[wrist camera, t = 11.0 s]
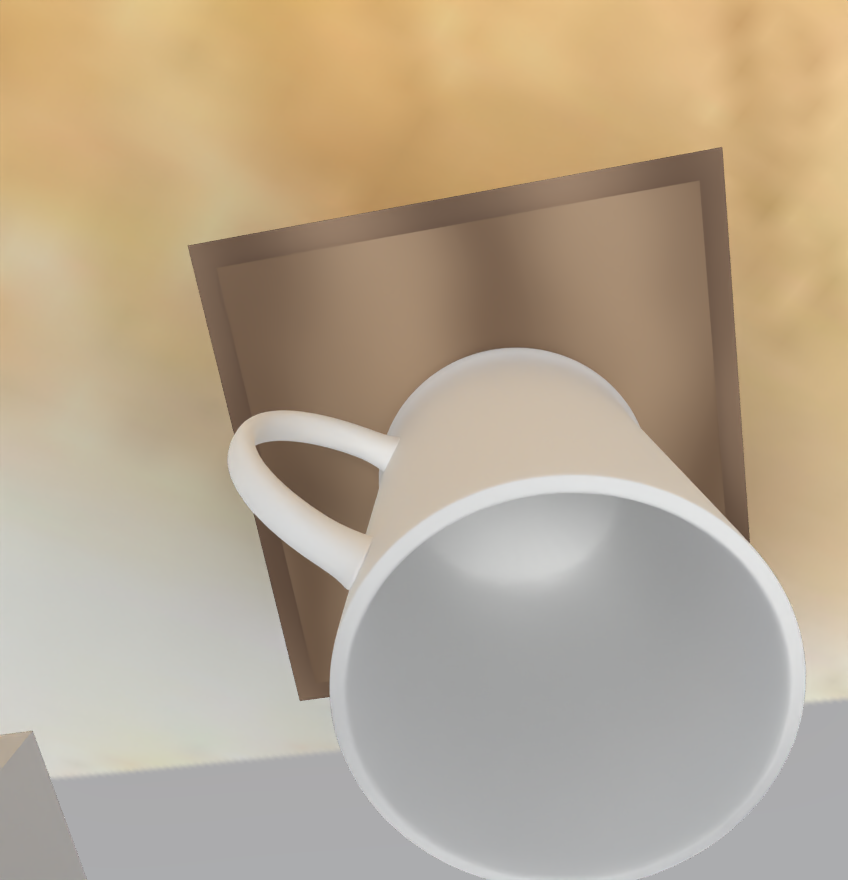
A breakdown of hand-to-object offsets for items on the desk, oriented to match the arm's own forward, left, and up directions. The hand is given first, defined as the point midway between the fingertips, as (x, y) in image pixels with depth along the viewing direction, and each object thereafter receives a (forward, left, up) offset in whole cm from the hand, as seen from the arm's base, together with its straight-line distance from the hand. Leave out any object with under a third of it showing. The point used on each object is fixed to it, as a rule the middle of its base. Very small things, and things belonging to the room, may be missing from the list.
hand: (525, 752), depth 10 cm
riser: (0, 0, -20) cm, 20 cm away
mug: (0, 0, -15) cm, 15 cm away
